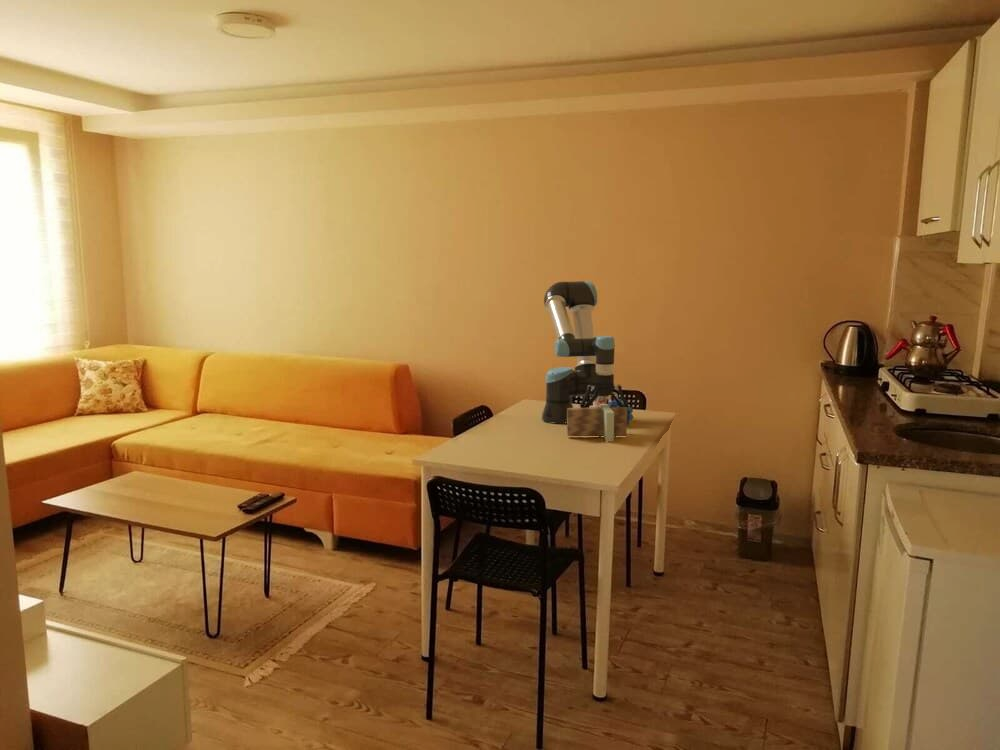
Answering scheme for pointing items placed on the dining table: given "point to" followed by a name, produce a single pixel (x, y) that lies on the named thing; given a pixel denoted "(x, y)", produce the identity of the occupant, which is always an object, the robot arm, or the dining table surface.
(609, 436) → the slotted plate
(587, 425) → the slotted board
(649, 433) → the dining table surface
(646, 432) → the dining table surface
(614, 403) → the grapes
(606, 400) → the teacup with lid
